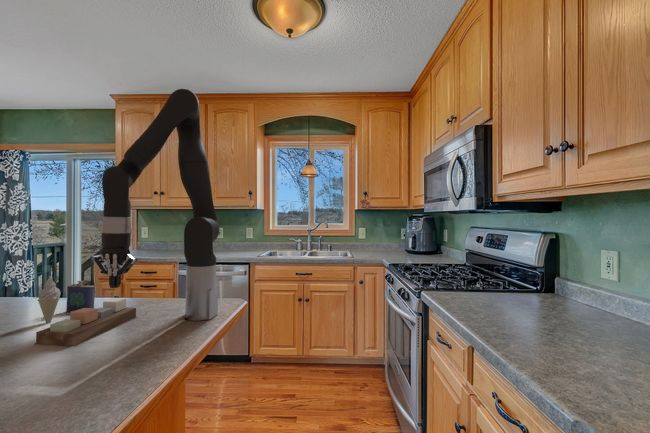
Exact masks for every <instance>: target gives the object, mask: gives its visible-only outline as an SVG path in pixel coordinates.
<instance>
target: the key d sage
mask: <svg viewBox="0 0 650 433" xmlns="http://www.w3.org/2000/svg"><path fill="white" fill-rule="evenodd" d="M80 326H81V320H71V319H70V318H68V319H63V320H60V321H57V322H54V323H50V326H49V327H50V332H64V333H66V332H68V331H71V330H73V329H76V328H78V327H80Z"/></svg>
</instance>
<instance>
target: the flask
mask: <svg viewBox="0 0 650 433" xmlns="http://www.w3.org/2000/svg"><path fill="white" fill-rule="evenodd" d="M76 282H77V283H73V284H69V285H67V289H66V290H67V291H66V292H67V293H66V310H65V313H68V312H69V313H70V312H73V311H76V310H79V309H82V308H95V290H96V287H95V285H84V283H85V280H77V281H76Z"/></svg>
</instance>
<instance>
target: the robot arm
mask: <svg viewBox="0 0 650 433" xmlns="http://www.w3.org/2000/svg"><path fill="white" fill-rule="evenodd" d="M200 108H201V107H200V102H199V98H198V97H197V95H196V94H195V93H194V92H193V91H192V90H190V89H187V88H186V89H185V88H178V89H175V90H174V91H173V92H172V93H171V94H170V95H169V97H168V99H167V100H166V101H165V103H164V105H163V106H162V108H161V110H160V111H159V112H158V114H157V115H156V116H155V118H154V120H152V122H151V123H150V124H149V125H148V127H147V128H146V129H145V130H144V132H143V133H142V134H141V135H140V136H139V137H138V138H137V139H136V140H135V141H134V142H133V143H132V145H131V146H130V147H129V148H128V149H126V151H125V152H124V154H123V158H122V159H121V161H120V162H119V163H118V164H117V165H114V166H108V168H106V169H105V170H104V172H103V174H102V180H101V185H102V194H103V216H102V217H103V219H102V223H101V243H100V245H101V246H100V247H102V250H101V252H100V253H101V254H100V255H99V256H95V257H94V258H93V260H94V262H95V263H96V265H97V266H98V268H99V270H100V271H101V272H102V273H103V274H104V275H105V274H106V275H107V276H108V286H109V288H110V289H117V288H120V286H121V285H122V275H124V274H127V273H128V272H129V271H130V270H131V269H132V267H133V266H134V265H135V263H137V261H138V257H133V256H132V255H131V250H130V247H131V241H132V236H131V235H132V220H131V214H132V211H131V210H132V209H131V208H132V207H131V206H132V205H131V200H130V198H129V196H130V188H131V187H132V186H133V185H135V183H136V181H137V180H138V179H139V177H140V176H141V174H142V173H143V172H144V170H145V168H147V166H149V165H150V163H152V161H153V160H154V159H155V158H156V157H157V156H158V154H160V152H161V151H162V149H163V147H164V146H165V144H166V143H167V141H168V139H169V137H170V136H171V134H172V133H173V132H174V130H175V129H176V132H177V137H178V138H177V139H178V145H177V146H178V149H177V161H178V170H179V176H180V181H181V183H182V185H183V188H184V190H185V193H186V194H187V196H188V199H189V201H190V203H191V207H192V208H191V209H192V215H193V217H191V218H190V219H189V220H187V221H186V224H185V226H184V230H183V248H184V249H183V251H184V257H185V261H186V266H185V268H186V270H185V272H186V273H185V311H184V312H185V319H186V320H188V321H191V322H193V321H194V322H195V321H196V322H197V321H205V320H211V319H213V318H214V317H216V316H217V315H218V309H219V308H218V304H219V286H218V285H217V283H216V282H217V256H216V255H215V254H214V246H213V245H214V242H215V241H216V240H217V238H218V237H219V235H220V224H219V220H218V216H217V212H216V210H215V204H214V199H213V192H212V190H213V189H212V183H211V174H210V167H209V162H208V156H207V153H206V149H205V145H204V143H203V140H202V135H201V134H202V133H201V117H200V116H201V109H200Z"/></svg>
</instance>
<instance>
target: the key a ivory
mask: <svg viewBox="0 0 650 433" xmlns="http://www.w3.org/2000/svg"><path fill="white" fill-rule="evenodd" d="M126 307H127V298H125V297H124V298H123V297H121V298H120V297H112V298H110V299H107V300H103V301H102V308H113V312H117V311H120V310H122V309H125V308H126Z"/></svg>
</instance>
